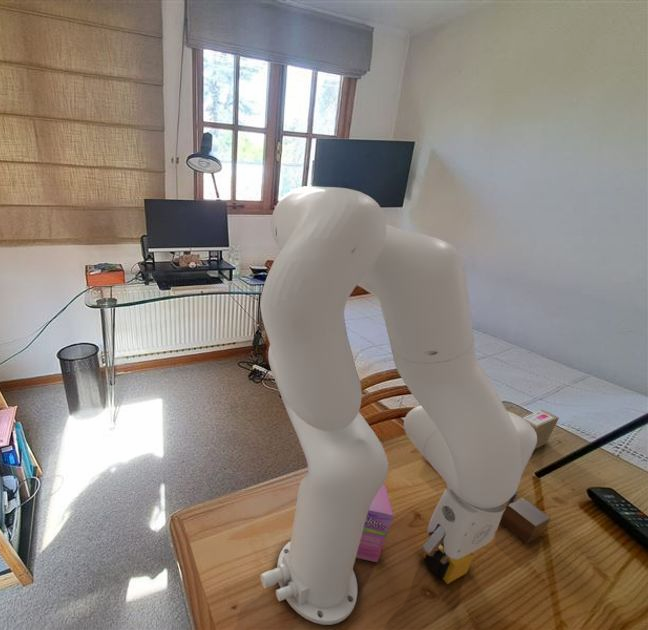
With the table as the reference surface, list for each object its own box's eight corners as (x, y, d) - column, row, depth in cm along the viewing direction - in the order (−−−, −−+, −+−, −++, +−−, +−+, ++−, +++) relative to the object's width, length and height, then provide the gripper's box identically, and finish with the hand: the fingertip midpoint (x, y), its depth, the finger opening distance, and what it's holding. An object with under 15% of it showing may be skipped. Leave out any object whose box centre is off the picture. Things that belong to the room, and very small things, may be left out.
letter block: (447, 584, 55) (455, 565, 53) (422, 556, 59) (429, 538, 57) (466, 573, 56) (474, 555, 55) (441, 547, 60) (448, 529, 59)
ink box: (529, 434, 89) (542, 408, 86) (547, 444, 86) (560, 417, 83) (506, 444, 85) (518, 417, 82) (523, 455, 82) (536, 427, 79)
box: (379, 563, 57) (394, 515, 53) (344, 556, 58) (356, 507, 54) (368, 509, 67) (380, 464, 62) (338, 503, 68) (348, 458, 63)
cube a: (526, 544, 61) (535, 526, 60) (499, 521, 65) (507, 504, 64) (541, 535, 63) (550, 518, 61) (514, 514, 67) (522, 497, 65)
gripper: (463, 526, 44) (428, 609, 51) (540, 489, 50) (499, 567, 57) (415, 482, 51) (389, 560, 58) (488, 453, 57) (457, 527, 64)
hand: (444, 563), depth 57 cm, fingers closed on letter block, 4 cm apart
